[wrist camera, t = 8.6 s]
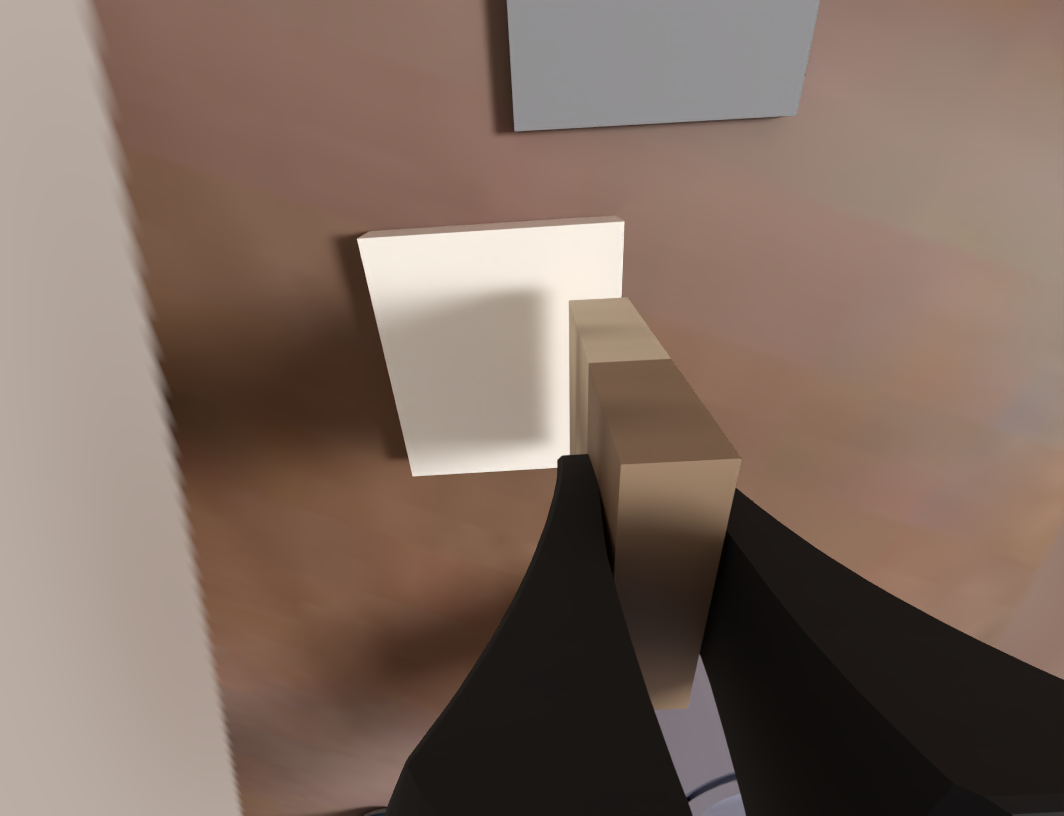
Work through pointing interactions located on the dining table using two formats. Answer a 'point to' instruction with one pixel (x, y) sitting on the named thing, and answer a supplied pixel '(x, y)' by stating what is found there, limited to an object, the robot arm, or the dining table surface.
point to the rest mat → (656, 60)
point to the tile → (486, 334)
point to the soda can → (377, 812)
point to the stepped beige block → (651, 486)
